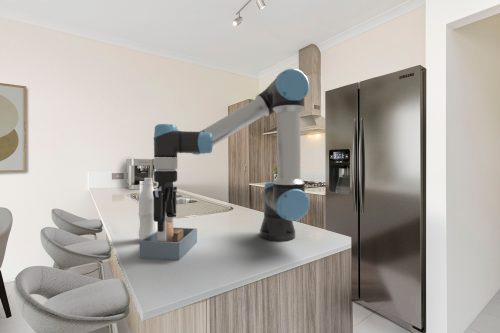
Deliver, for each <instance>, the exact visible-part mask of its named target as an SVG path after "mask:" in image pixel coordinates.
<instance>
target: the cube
mask: <svg viewBox="0 0 500 333" xmlns="http://www.w3.org/2000/svg"><path fill="white" fill-rule="evenodd" d="M181 239H183V229H173V242H179V241H180V240H181Z"/></svg>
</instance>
